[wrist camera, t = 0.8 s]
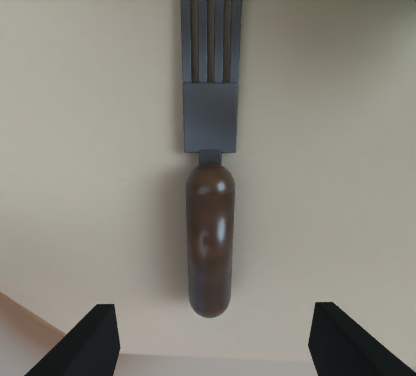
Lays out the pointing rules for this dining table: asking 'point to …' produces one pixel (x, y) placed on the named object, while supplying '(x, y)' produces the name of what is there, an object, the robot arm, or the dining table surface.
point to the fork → (210, 158)
